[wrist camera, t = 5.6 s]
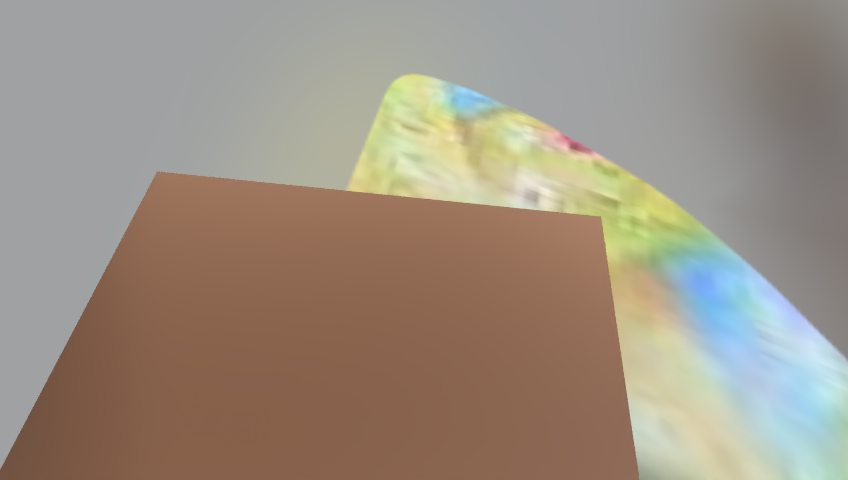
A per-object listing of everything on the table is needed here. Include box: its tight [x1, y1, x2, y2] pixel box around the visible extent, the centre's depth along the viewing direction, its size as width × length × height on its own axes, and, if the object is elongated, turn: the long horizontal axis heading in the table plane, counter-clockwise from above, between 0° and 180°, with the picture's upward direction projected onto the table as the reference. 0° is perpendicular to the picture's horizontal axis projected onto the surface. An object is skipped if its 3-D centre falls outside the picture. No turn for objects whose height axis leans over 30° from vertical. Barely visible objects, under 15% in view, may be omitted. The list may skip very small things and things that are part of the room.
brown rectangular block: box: [0, 172, 639, 480], centre depth 8 cm, size 4×4×13 cm
